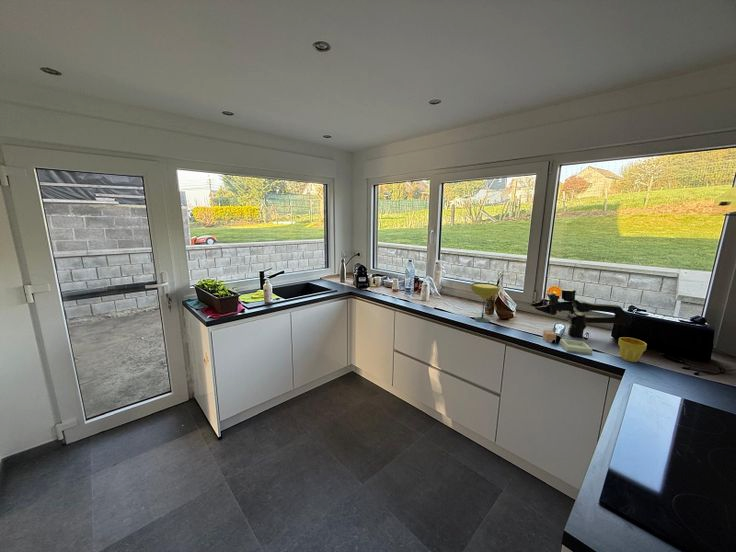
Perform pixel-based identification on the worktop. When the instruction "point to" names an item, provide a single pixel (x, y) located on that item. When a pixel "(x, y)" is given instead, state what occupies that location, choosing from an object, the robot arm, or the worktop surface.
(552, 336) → the terracotta block
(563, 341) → the sage tray
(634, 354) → the plant pot
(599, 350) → the worktop surface
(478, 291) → the cocktail glass
